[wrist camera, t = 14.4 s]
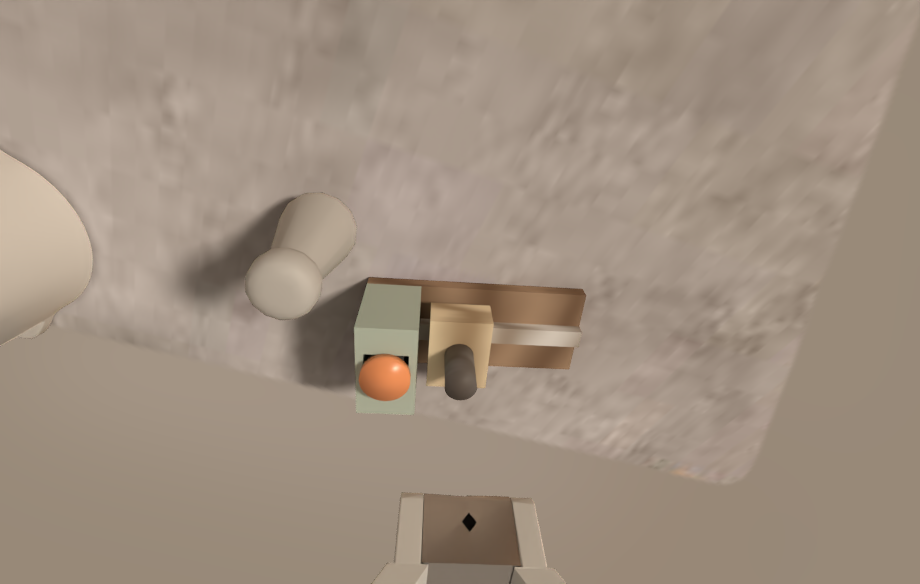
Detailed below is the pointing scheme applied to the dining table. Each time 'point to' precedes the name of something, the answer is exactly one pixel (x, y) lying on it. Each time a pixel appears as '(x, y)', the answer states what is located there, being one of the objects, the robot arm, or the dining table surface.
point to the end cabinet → (388, 339)
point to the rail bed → (510, 319)
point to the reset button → (385, 377)
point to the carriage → (459, 348)
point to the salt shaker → (301, 256)
